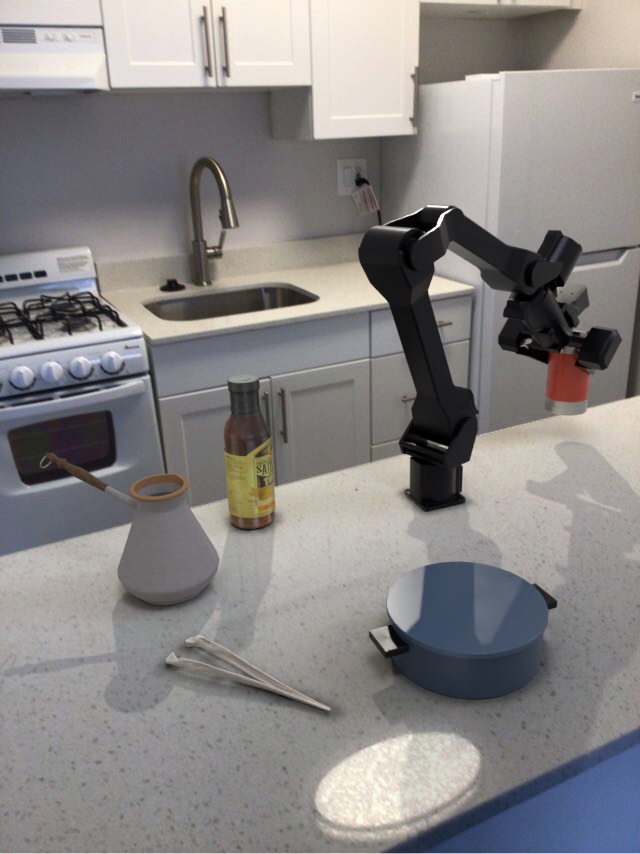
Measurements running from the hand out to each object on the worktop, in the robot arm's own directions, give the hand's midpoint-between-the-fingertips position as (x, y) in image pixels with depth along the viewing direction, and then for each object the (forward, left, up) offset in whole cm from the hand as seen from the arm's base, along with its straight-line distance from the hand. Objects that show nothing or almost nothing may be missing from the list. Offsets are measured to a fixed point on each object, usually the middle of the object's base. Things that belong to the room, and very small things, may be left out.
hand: (573, 368), depth 123 cm
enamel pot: (-46, -41, -11) cm, 63 cm away
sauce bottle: (-57, -6, -11) cm, 59 cm away
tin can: (-1, 0, -7) cm, 7 cm away
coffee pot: (-74, -14, -11) cm, 77 cm away
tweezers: (-67, -37, -11) cm, 78 cm away
